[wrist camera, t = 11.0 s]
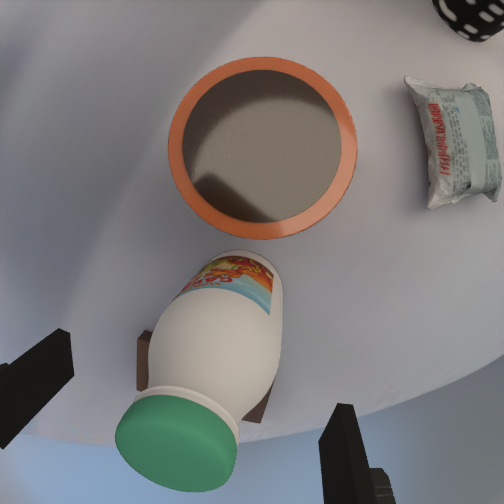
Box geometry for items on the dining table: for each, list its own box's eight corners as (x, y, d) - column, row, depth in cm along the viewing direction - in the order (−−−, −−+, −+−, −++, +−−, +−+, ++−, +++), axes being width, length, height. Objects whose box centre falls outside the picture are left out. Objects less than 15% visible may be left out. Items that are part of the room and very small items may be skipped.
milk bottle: (300, 285, 28) (325, 467, 8) (246, 342, 29) (200, 525, 10) (233, 230, 27) (122, 335, 8) (184, 292, 29) (58, 436, 9)
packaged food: (416, 206, 25) (442, 211, 20) (396, 81, 23) (416, 64, 18) (484, 200, 24) (514, 204, 19) (466, 87, 22) (492, 74, 17)
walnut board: (143, 380, 32) (136, 389, 30) (145, 329, 30) (137, 338, 28) (261, 412, 31) (260, 423, 29) (276, 363, 29) (276, 374, 28)
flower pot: (193, 208, 27) (152, 219, 18) (218, 88, 25) (189, 47, 16) (317, 234, 26) (335, 258, 18) (343, 112, 24) (371, 78, 15)
